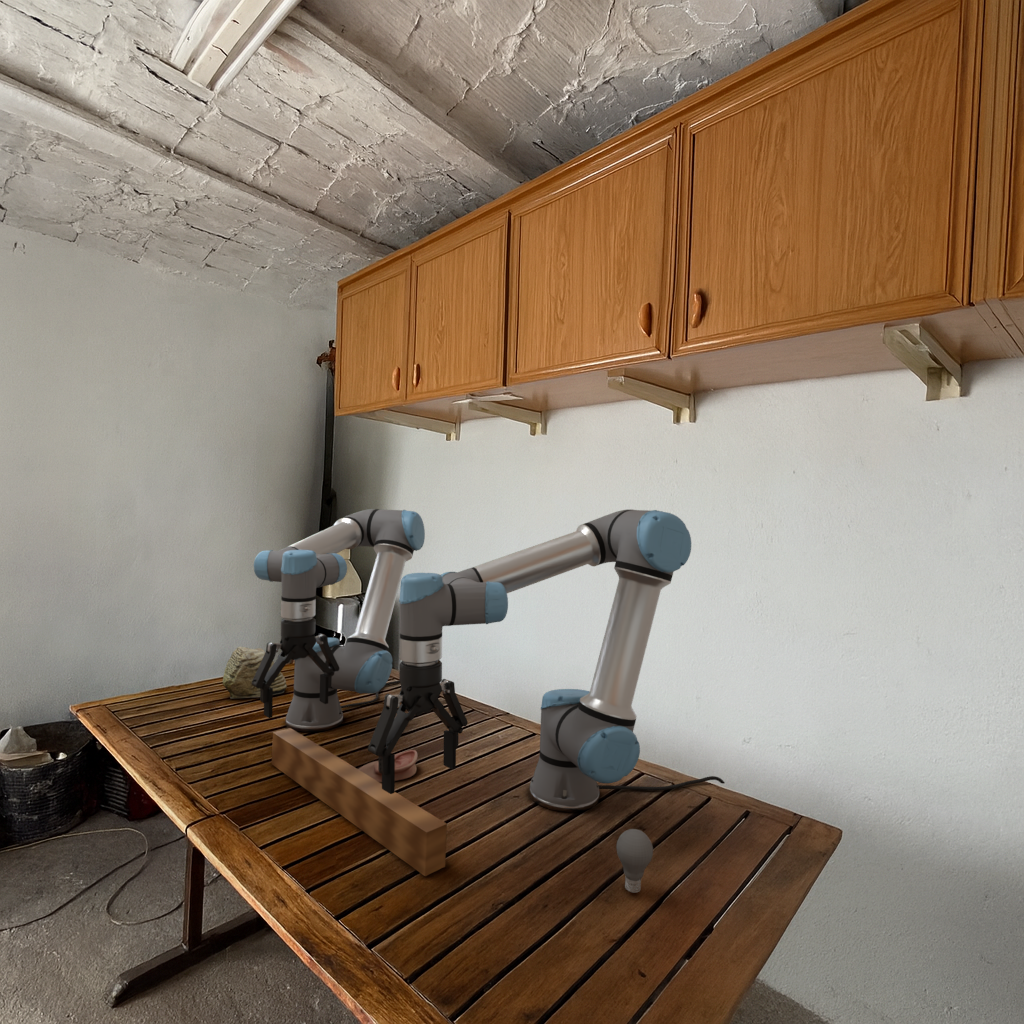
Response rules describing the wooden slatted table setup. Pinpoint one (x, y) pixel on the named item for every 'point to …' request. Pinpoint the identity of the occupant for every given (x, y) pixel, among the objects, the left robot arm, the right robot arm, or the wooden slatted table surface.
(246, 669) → the fossil
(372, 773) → the anatomical model
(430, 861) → the beam
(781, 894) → the wooden slatted table surface
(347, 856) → the wooden slatted table surface
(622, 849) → the light bulb
